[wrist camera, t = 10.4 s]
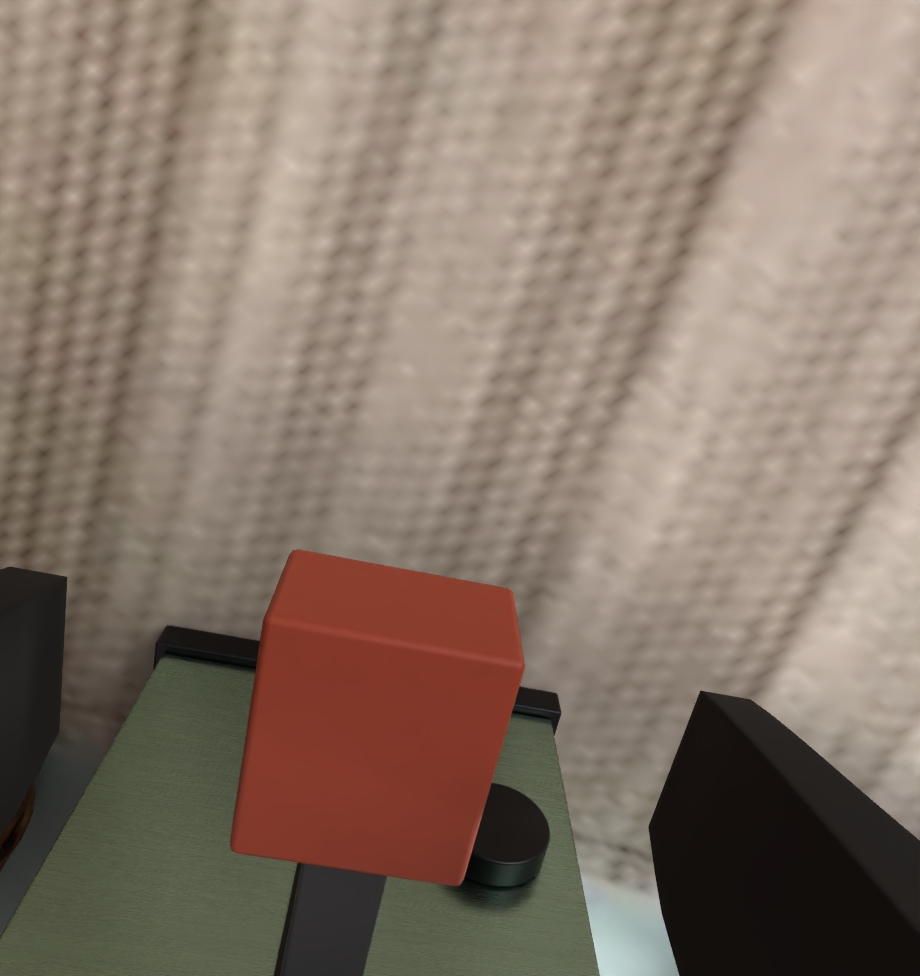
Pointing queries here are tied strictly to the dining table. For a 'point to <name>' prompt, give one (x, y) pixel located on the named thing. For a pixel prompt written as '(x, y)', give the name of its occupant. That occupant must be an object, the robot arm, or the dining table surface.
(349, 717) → the lever
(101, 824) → the toaster
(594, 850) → the dining table surface
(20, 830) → the bread roll
